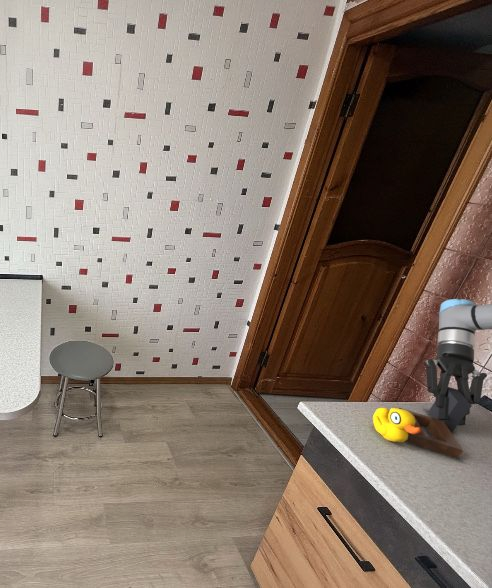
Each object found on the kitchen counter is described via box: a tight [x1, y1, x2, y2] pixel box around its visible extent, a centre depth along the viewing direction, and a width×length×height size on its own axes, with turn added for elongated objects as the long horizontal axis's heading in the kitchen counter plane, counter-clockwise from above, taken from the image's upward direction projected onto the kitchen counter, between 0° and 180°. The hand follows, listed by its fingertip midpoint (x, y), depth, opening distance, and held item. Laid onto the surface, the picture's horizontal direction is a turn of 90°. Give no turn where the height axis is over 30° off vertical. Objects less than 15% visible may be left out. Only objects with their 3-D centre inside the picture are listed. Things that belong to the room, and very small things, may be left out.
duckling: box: [372, 407, 421, 443], centre depth 89 cm, size 11×5×10 cm, turn 175°
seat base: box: [398, 407, 464, 460], centre depth 93 cm, size 10×12×3 cm
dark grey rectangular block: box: [428, 386, 473, 433], centre depth 97 cm, size 3×8×10 cm, turn 152°
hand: (451, 421), depth 95 cm, fingers closed on dark grey rectangular block, 3 cm apart
